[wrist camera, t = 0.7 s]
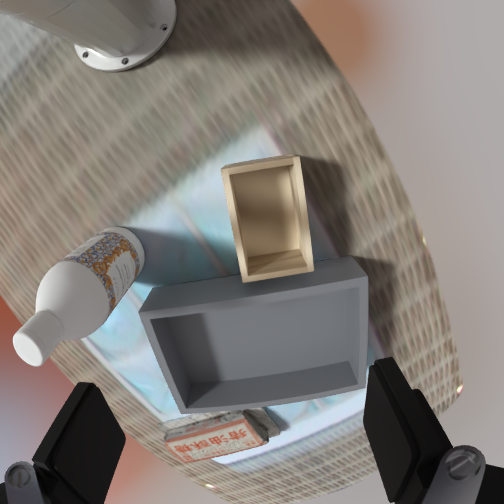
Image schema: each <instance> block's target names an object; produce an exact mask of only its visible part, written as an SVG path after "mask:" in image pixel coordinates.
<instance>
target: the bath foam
mask: <svg viewBox="0 0 504 504" xmlns="http://www.w3.org/2000/svg"><path fill="white" fill-rule="evenodd" d="M144 261H145V254H144V249H143V247H142V244H141V242H140V241H139V239H138V238H137V237H136V236H135V235H134V234H133V233H132V232H130V231H129V230H127V229H125V228H121V227H110V228H107V229H104V230H103V231H101V232H100V233H98V234H97V235H95V236H94V237H92V238H91V239H89V240H88V241H86V242H85V243H84V244H82V245H81V246H79V247H78V248H77V249H75V250H74V251H73V252H71V253H70V254H68V255H67V256H66V257H64V258H63V259H62V260H60V261H59V262H58V263H56V264H55V265H54V266H53V267H52V268H51V269H50V270H49V271H48V272H47V273H46V275H45V276H44V278H43V279H42V281H41V283H40V286H39V289H38V292H37V298H36V313H35V314H34V315H33V316H32V317H31V318H30V319H29V320H28V321H27V322H26V323H25V324H24V325H23V326H22V327H21V328H20V329H19V330H18V332H16V334H15V335H14V337H13V344H14V348H15V350H16V352H17V353H18V355H19V356H20V357H21V358H22V359H23V360H24V361H25V362H26V363H28V364H30V365H32V366H40V365H42V364H43V363H44V362H45V361H46V359H47V358H48V357H49V355H50V354H51V353H52V352H53V350H54V349H55V348H56V346H57V345H58V344H59V342H60V341H61V340H76V339H81V338H84V337H86V336H89V335H90V334H92V333H93V332H95V331H96V330H97V329H98V328H100V327H101V326H102V325H103V324H104V322H105V321H106V320H107V318H108V317H109V315H110V314H111V313H112V311H113V310H114V308H115V307H116V306H117V304H118V303H119V301H120V300H121V299H122V297H123V296H124V294H125V293H126V292H127V290H128V289H129V288H130V286H131V285H132V284H133V282H134V281H135V279H136V278H137V277H138V275H139V274H140V272H141V271H142V269H143V266H144Z"/></svg>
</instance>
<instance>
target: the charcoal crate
mask: <svg viewBox="0 0 504 504" xmlns="http://www.w3.org/2000/svg"><path fill="white" fill-rule="evenodd" d="M313 265H314V271H312V272H306V273H300V274H294V275H288V276H282V277H276V278H270V279H264V280H258V281H252V282H246V283H243V281H242V276H241V274H238V275H232V276H226V277H219V278H213V279H207V280H200V281H194V282H187V283H181V284H174V285H167V286H161V287H154V288H152V290H151V292H150V293H149V295H148V297H147V298H146V300H145V302H144V303H143V305H142V307H141V309H140V310H139V315H140V318H141V321H142V323H143V326H144V329H145V331H146V334H147V336H148V339H149V342H150V344H151V347H152V349H153V352H154V354H155V356H156V359H157V361H158V364H159V366H160V368H161V371H162V373H163V375H164V378H165V380H166V382H167V384H168V387H169V389H170V391H171V393H172V396H173V398H174V400H175V402H176V404H177V406H178V408H179V410H180V413H181V414H192V413H209V412H222V411H233V410H243V409H252V408H260V407H267V406H275V405H282V404H288V403H294V402H300V401H306V400H311V399H317V398H322V397H327V396H332V395H336V394H341V393H346V392H350V391H354V390H358V389H363V388H365V384H366V369H367V348H368V275H367V274H366V273H365V272H364V270H363V269H362V268H361V267H360V266H359V264H358V263H357V262H356V261H355V260H354V259H353V257H352V256H345V257H340V258H334V259H328V260H322V261H317V262H313Z"/></svg>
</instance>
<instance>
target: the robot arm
mask: <svg viewBox="0 0 504 504" xmlns="http://www.w3.org/2000/svg"><path fill="white" fill-rule="evenodd" d="M0 13H1V14H4V15H7V16H10V17H12V18H15V19H18V20H20V21H23V22H26V23H28V24H30V25H33V26H35V27H38V28H40V29H42V30H45V31H47V32H49V33H52V34H54V35H56V36H58V37H61V38H63V39H65V40H67V41H69V42H71V43H74V47H75V50H76V52H77V55H78V56H79V58H80V59H81V60H82V62H84V63H85V64H86V65H88V66H89V67H92V68H94V69H96V70H100V71H103V72H118V71H124V70H127V69H131V68H133V67H135V66H137V65H139V64H142V63H143V62H145V61H146V60H148V59H149V58H151V57H152V56H153V55H154V54H155V53H156V52H158V51H159V50H160V48H161V47H162V46H163V45H164V44H165V43H166V41H167V40H168V38H169V36H170V35H171V33H172V30H173V28H174V26H175V22H176V17H177V7H176V3H175V0H0ZM165 28H167V29H166V30H165V31H164V29H165ZM87 56H88V57H87ZM127 61H129V62H128V64H126V62H127ZM363 424H364V428H365V431H366V434H367V437H368V440H369V443H370V446H371V448H372V451H373V454H374V457H375V460H376V463H377V466H378V469H379V472H380V476H381V479H382V482H383V485H384V488H385V491H386V494H387V497H388V500H389V502H390V503H392V502H395V504H504V468H501V467H496V466H492V465H488V464H486V461H485V457H484V455H483V454H482V453H481V451H479V450H478V449H477V448H475V447H472V446H469V445H461V446H456V447H454V448H453V446H452V444H451V443H450V441H449V439H448V437H447V435H446V434H445V432H444V430H443V428H442V426H441V424H440V423H439V421H438V419H437V417H436V416H435V414H434V412H433V410H432V409H431V407H430V405H429V404H428V402H427V400H426V399H425V397H424V395H423V393H422V392H421V391H420V390H419V389H414V390H412V389H411V387H410V386H409V384H408V382H407V380H406V379H405V377H404V375H403V374H402V372H401V370H400V368H399V367H398V365H397V363H396V362H395V360H394V359H393V357H388V358H384V359H379V360H375V362H374V365H371V366H370V367H369V375H368V384H367V393H366V401H365V409H364V416H363ZM125 441H126V437H125V434H124V432H123V430H122V429H121V427H120V425H119V424H118V422H117V420H116V418H115V417H114V415H113V413H112V411H111V409H110V408H109V406H108V404H107V402H106V400H105V398H104V396H103V394H102V392H101V390H100V389H99V388H98V387H96V385H95V384H94V383H87V382H79V383H78V384H77V385H76V386H75V388H74V389H73V391H72V393H71V394H70V396H69V397H68V399H67V401H66V402H65V404H64V405H63V407H62V409H61V410H60V412H59V414H58V415H57V417H56V418H55V420H54V422H53V423H52V425H51V427H50V428H49V430H48V432H47V434H46V435H45V437H44V439H43V440H42V442H41V444H40V446H39V448H38V449H37V451H36V453H35V454H34V456H33V458H32V461H33V462H34V465H33V466H32V465H31V464H30V463H28V462H24V461H20V462H16V463H14V464H12V465H11V466H10V467H9V468H8V469H7V471H6V473H5V480H4V481H5V482H4V483H1V484H0V504H104V501H105V498H106V495H107V492H108V490H109V486H110V484H111V481H112V478H113V475H114V472H115V469H116V467H117V464H118V461H119V458H120V456H121V453H122V450H123V448H124V445H125Z"/></svg>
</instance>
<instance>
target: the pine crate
mask: <svg viewBox="0 0 504 504" xmlns="http://www.w3.org/2000/svg"><path fill="white" fill-rule="evenodd" d="M221 173H222V179H223V184H224V189H225V194H226V200H227V205H228V210H229V215H230V220H231V225H232V230H233V236H234V241H235V246H236V251H237V256H238V261H239V266H240V271H241V276H242V281H243V283H246V282H252V281H258V280H264V279H270V278H276V277H282V276H288V275H294V274H300V273H306V272H312V271H314V265H313V256H312V247H311V238H310V230H309V221H308V213H307V206H306V198H305V191H304V184H303V177H302V170H301V163H300V157H299V156H295V155H292V154H289V155H282V156H275V157H269V158H262V159H256V160H250V161H244V162H239V163H233V164H228V165H225V166H224V167H223V168H222V169H221Z"/></svg>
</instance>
